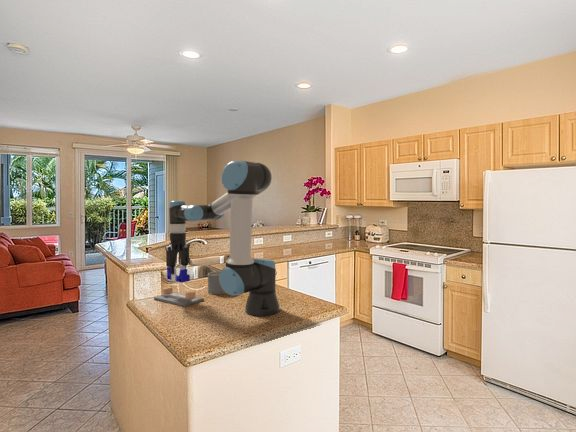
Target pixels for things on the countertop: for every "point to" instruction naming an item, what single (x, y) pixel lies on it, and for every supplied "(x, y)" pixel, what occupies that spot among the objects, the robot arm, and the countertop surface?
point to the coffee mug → (214, 283)
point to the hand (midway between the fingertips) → (178, 279)
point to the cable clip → (182, 275)
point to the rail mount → (178, 297)
